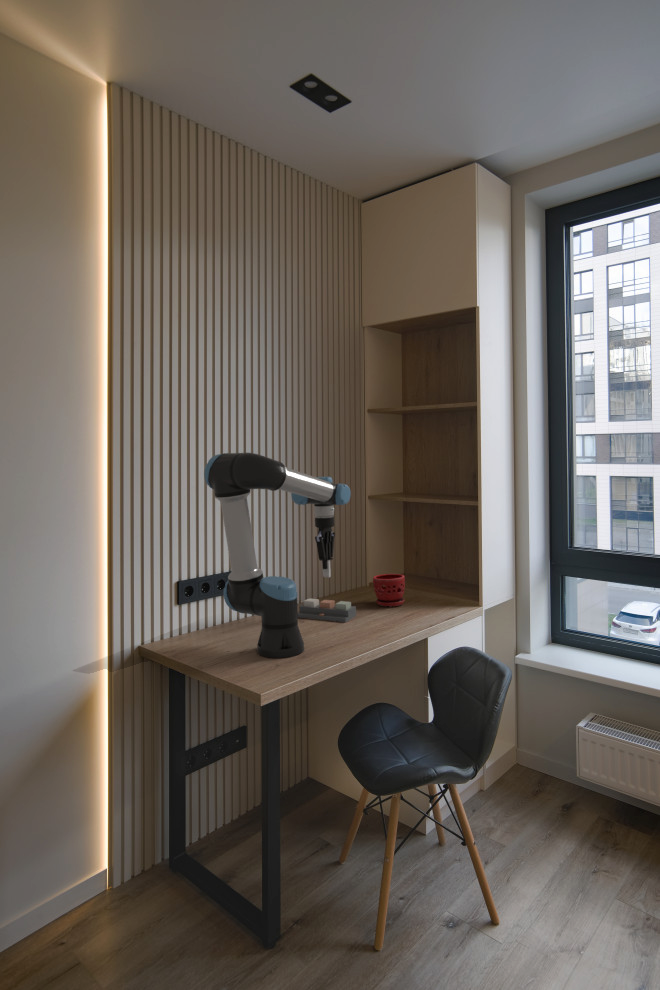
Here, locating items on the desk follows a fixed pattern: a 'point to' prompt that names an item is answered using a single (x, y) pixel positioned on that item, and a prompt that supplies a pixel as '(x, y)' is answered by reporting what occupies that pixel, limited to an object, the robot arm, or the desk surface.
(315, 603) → the ivory key
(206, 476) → the robot arm
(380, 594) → the plant pot
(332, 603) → the terracotta key
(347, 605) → the sage key
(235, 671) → the desk surface
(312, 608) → the key console
